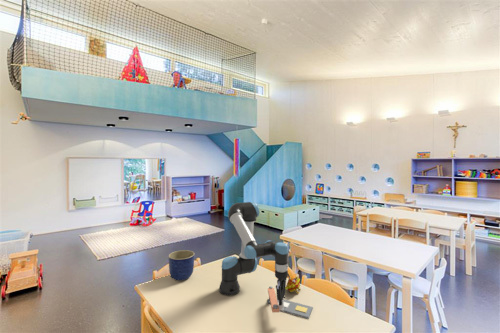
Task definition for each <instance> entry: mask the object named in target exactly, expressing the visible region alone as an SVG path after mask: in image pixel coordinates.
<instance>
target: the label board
mask: <svg viewBox="0 0 500 333" xmlns="http://www.w3.org/2000/svg"><path fill="white" fill-rule="evenodd" d="M277 302H278V306H279V300H277ZM313 309H314V307H313V306H310V305H307V304H302V303H299V302H295V301H291V300H288V299H287V300H286V299H284V310H283V311H282V310H279V312H284V313H287V314H291V315H294V316H297V317H300V318H304V319H310V317H311V314H312V312H313V311H314V310H313Z"/></svg>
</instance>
